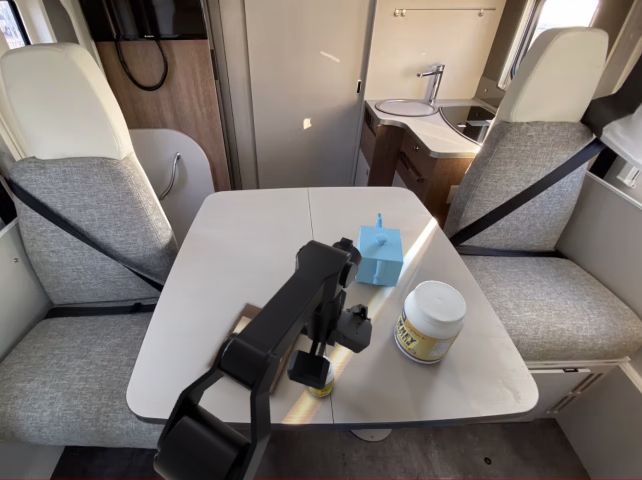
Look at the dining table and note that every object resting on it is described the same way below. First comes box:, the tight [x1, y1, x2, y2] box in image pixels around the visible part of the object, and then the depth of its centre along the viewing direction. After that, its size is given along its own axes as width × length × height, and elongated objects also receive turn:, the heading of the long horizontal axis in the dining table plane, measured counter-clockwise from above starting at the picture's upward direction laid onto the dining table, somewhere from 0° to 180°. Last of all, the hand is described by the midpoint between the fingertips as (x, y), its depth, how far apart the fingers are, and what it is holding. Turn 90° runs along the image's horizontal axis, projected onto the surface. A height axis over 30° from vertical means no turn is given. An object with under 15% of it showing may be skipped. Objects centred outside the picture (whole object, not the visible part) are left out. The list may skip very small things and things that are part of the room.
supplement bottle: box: [308, 355, 335, 398], centre depth 65 cm, size 5×5×10 cm
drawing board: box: [208, 303, 298, 395], centre depth 75 cm, size 18×16×1 cm
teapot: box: [354, 212, 405, 288], centre depth 89 cm, size 22×11×14 cm, turn 169°
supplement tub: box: [394, 280, 468, 365], centre depth 70 cm, size 12×12×17 cm
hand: (317, 353), depth 60 cm, fingers open, 9 cm apart
